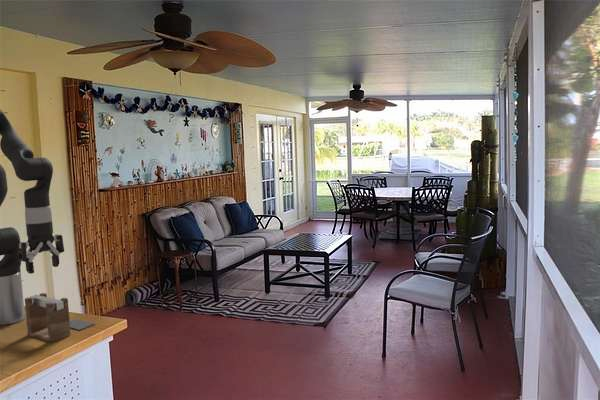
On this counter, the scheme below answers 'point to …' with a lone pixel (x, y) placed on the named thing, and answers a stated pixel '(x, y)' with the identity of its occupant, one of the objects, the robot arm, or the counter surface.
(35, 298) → the steel rod
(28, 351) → the counter surface
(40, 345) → the counter surface
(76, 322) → the mat
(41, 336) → the cradle
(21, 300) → the robot arm
